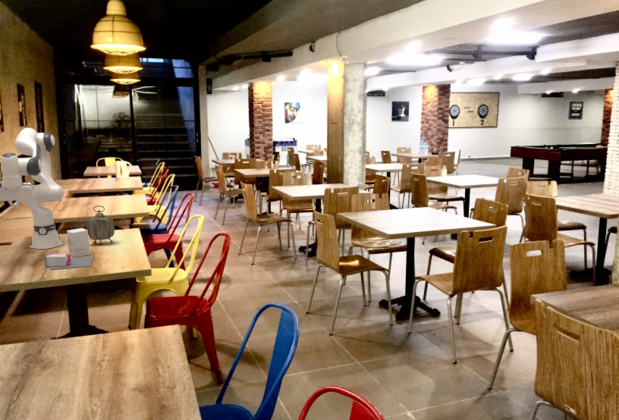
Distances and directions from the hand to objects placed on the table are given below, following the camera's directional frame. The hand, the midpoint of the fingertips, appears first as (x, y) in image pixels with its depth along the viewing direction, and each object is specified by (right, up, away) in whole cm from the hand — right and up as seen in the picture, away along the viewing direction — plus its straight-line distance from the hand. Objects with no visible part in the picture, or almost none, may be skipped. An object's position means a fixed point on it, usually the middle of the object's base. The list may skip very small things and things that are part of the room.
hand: (15, 208), depth 282 cm
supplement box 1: (+18, -28, -1) cm, 34 cm away
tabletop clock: (+29, -23, +46) cm, 59 cm away
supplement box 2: (+26, -28, +21) cm, 43 cm away
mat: (+30, -31, +4) cm, 43 cm away
